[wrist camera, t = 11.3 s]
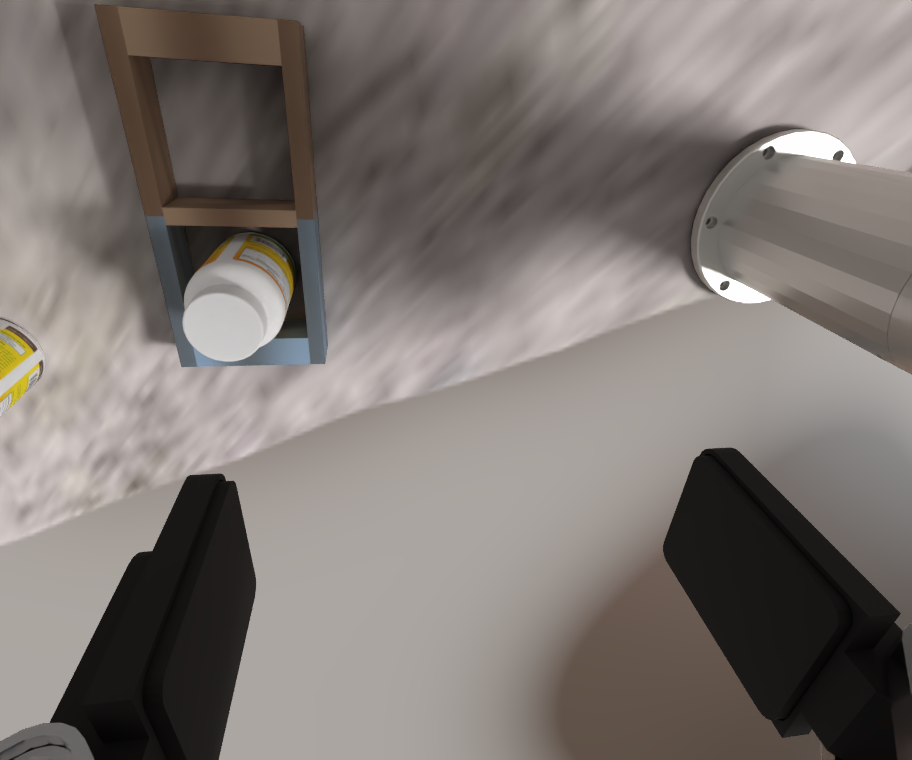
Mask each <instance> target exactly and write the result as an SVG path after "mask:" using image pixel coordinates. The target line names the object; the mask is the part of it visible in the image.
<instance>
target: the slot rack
mask: <svg viewBox="0 0 912 760" xmlns="http://www.w3.org/2000/svg"><path fill="white" fill-rule="evenodd" d="M94 5H95V9H96V13H97V17H98V22H99V26H100V30H101V34H102V38H103V42H104V46H105V51H106V55H107V59H108V63H109V67H110V71H111V76H112V80H113V84H114V88H115V92H116V96H117V101H118V105H119V109H120V113H121V117H122V121H123V126H124V130H125V134H126V138H127V142H128V146H129V151H130V155H131V159H132V163H133V167H134V171H135V175H136V180H137V184H138V188H139V192H140V196H141V200H142V205H143V209H144V213H145V217H146V221H147V225H148V230H149V234H150V238H151V242H152V246H153V250H154V255H155V259H156V263H157V267H158V271H159V275H160V280H161V284H162V288H163V292H164V296H165V300H166V304H167V309H168V313H169V317H170V321H171V325H172V329H173V334H174V338H175V342H176V346H177V350H178V354H179V359H180V363H181V367H202V366H246V365H290V364H325V361H326V354H327V346H328V342H327V329H326V316H325V303H324V289H323V276H322V263H321V250H320V237H319V223H318V210H317V197H316V184H315V171H314V157H313V144H312V131H311V118H310V105H309V91H308V78H307V65H306V52H305V39H304V26H303V25H301V24H300V23H299V22H298V21H291V20H279V19H267V18H255V17H242V16H230V15H218V14H206V13H194V12H182V11H170V10H158V9H146V8H134V7H122V6H110V5H98V4H94ZM149 57H150V58H165V59H180V60H194V61H209V62H223V63H238V64H252V65H267V66H281V67H282V74H283V85H284V95H285V105H286V116H287V126H288V136H289V147H290V157H291V168H292V178H293V188H294V199H295V201H292V200H256V199H220V198H184V197H178V194H177V189H176V184H175V179H174V175H173V170H172V165H171V160H170V155H169V150H168V145H167V140H166V136H165V131H164V126H163V121H162V116H161V111H160V106H159V102H158V97H157V92H156V87H155V82H154V77H153V72H152V67H151V63H150V58H149ZM184 226H232V227H283V228H297V230H298V240H299V250H300V261H301V271H302V281H303V292H304V302H305V313H306V321H284V322H283V324H282V327H281V329H280V331H279V332H278V334H277V335H276V336H275V337H274V338H273V339H272V340H271V341H270V342H269V343H267V344H265V345H264V346H262V347H259V348H258V349H257V350H256V352H254V353H253V354H252V355H251V356H249V357H247V358H245V359H242V360H239V361H233V362H225V361H218V360H214V359H211V358H209V357H207V356H205V355H203V354H201V353H200V352H199V351H197V350H196V349H195V348H194V347H193V346H192V345H191V344H190V343H189V341H188V339H187V338H186V336H185V333H184V330H183V324H182V321H183V314H184V311H185V308H184V294H185V290H186V287H187V285H188V283H189V281H190V280H191V278H192V277H193V275H194V272H193V267H192V262H191V257H190V253H189V248H188V243H187V238H186V233H185V228H184Z"/></svg>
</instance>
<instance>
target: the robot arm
mask: <svg viewBox="0 0 912 760" xmlns="http://www.w3.org/2000/svg"><path fill="white" fill-rule="evenodd" d="M691 255H692V259H693V264H694V268H695V270H696V272H697V274H698V276H699V278H700V279H701V281H702V282H703V283H704V284H705V285H706V286H707V287H708V288H709V289H710V290H712V291H713V292H715V293H716V294H718V295H719V296H721V297H724V298H725V299H728V300H730V301H734V302H738V303H759V302H764V301H769V300H773V301H775V302H777V303H779V304H781V305H783V306H784V307H787V308H788V309H790V310H792V311H794V312H796V313H798V314H799V315H801V316H803V317H805V318H807V319H809V320H811V321H812V322H814V323H816V324H818V325H820V326H822V327H823V328H825V329H827V330H830V331H831V332H833V333H835V334H837V335H838V336H840V337H842V338H844V339H846V340H848V341H850V342H851V343H853V344H855V345H857V346H859V347H861V348H863V349H864V350H866V351H868V352H870V353H872V354H874V355H876V356H877V357H879V358H881V359H883V360H885V361H887V362H889V363H891V364H893V365H894V366H896V367H898V368H900V369H902V370H904V371H906V372H908V373H910V374H912V173H909V172H903V171H897V170H891V169H885V168H879V167H873V166H867V165H861V164H856V161H855V159H854V157H853V156H852V154H851V152H850V150H849V148H848V147H847V146H845V145H844V144H843V143H842V142H841V141H840V140H839V139H838V138H836V137H834V136H832V135H830V134H828V133H825V132H820V131H815V130H803V129H793V130H787V131H781V132H778V133H775V134H772V135H770V136H767V137H764V138H762V139H760V140H759V141H757V142H755V143H754V144H752V145H750V146H749V147H747V148H746V149H744V150H743V151H742V152H741V153H739V154H738V155H737V156H736V157H735V158H733V159H732V160H731V161H730V162H729V163H728V164H727V165H726V167H725V168H724V169H723V170H722V171H721V172H720V173H719V174H718V175H717V177H716V178H715V180H714V181H713V183H712V184H711V186H710V187H709V189H708V190H707V192H706V194H705V196H704V198H703V200H702V202H701V204H700V206H699V208H698V211H697V214H696V217H695V220H694V223H693V230H692V236H691ZM663 552H664V556H665V559H666V561H667V563H668V565H669V566H670V568H671V569H672V571H673V573H674V574H675V576H676V577H677V579H678V581H679V582H680V584H681V585H682V587H683V588H684V590H685V592H686V594H687V595H688V597H689V599H690V600H691V602H692V603H693V605H694V607H695V608H696V610H697V611H698V613H699V615H700V616H701V618H702V619H703V621H704V623H705V624H706V626H707V628H708V629H709V631H710V632H711V634H712V636H713V637H714V639H715V641H716V642H717V644H718V645H719V647H720V649H721V650H722V652H723V654H724V655H725V657H726V658H727V660H728V662H729V663H730V665H731V666H732V668H733V670H734V671H735V673H736V675H737V676H738V678H739V679H740V681H741V683H742V684H743V685H744V688H745V689H746V691H747V692H748V694H749V696H750V697H751V699H752V700H753V702H754V704H755V705H756V707H757V708H758V710H759V711H760V712H761V714H762V715H763V716H765V718H767V719H769V720H771V721H772V722H773V724H774V726H775V727H776V729H777V730H778V732H779V734H780V735H781V737H782V738H785V737H791V736H798V735H805V734H809V732H810V731H811V730H812V729H813V731H814V732H815V734H816V735H817V737H818V738H819V740H820V741H821V760H912V624H909V625H908V626H907V627H906V628H905V629H904V630H903V631H902V630H901V629H900V628H899V627H898V626H897V625H896V624H895V623H894V622H895V621H896V619H897V618H898V617H899V615H900V612H899V611H898V610H896V609H895V607H894V606H893V605H892V604H891V603H890V602H889V601H888V600H887V599H886V598H884V596H883V595H882V594H881V593H879V591H878V590H876V588H875V587H874V586H873V585H872V584H871V583H870V582H869V581H868V580H867V579H866V578H865V577H864V576H863V575H862V574H861V573H860V572H859V571H858V570H857V569H856V568H855V567H854V566H853V565H852V564H851V563H850V562H849V561H848V560H847V559H846V558H845V557H844V556H843V555H842V554H841V553H840V552H839V551H838V550H837V549H836V548H835V547H834V546H833V545H832V544H831V543H830V542H829V541H828V540H827V539H826V538H825V537H824V536H823V535H822V534H821V533H820V532H819V531H818V530H817V529H816V528H815V527H814V526H813V525H812V524H811V523H810V522H809V521H808V520H807V519H806V518H805V517H804V516H803V515H802V514H801V513H800V512H799V511H798V510H797V509H796V508H795V507H794V506H793V505H792V504H791V503H790V502H789V501H788V500H787V499H786V498H785V497H784V496H783V495H782V494H781V493H780V492H779V491H778V490H777V489H776V488H775V487H774V486H773V485H772V484H771V483H770V482H769V481H768V480H767V479H766V478H765V477H764V476H763V475H762V474H761V473H760V472H759V471H758V470H757V469H756V468H755V467H754V466H753V465H752V464H751V463H750V462H749V461H748V460H747V459H746V458H745V457H744V456H743V455H742V454H741V453H740V452H739V451H738V450H736V449H734V448H714V449H705V450H704V451H702V452H701V454H700V456H698V457H696V458H695V460H694V462H693V464H692V467H691V470H690V472H689V475H688V478H687V481H686V483H685V486H684V489H683V492H682V494H681V497H680V500H679V503H678V505H677V508H676V511H675V514H674V516H673V519H672V522H671V524H670V527H669V530H668V533H667V535H666V538H665V541H664V545H663ZM255 590H256V577H255V572H254V567H253V563H252V558H251V553H250V549H249V543H248V539H247V534H246V529H245V525H244V520H243V515H242V510H241V505H240V501H239V496H238V491H237V487H236V483H235V482H234V481H226V480H225V477H224V475H223V474H203V475H190V476H188V477H187V478H186V480H185V482H184V484H183V486H182V488H181V490H180V492H179V495H178V497H177V499H176V501H175V503H174V505H173V508H172V510H171V512H170V514H169V516H168V519H167V521H166V523H165V525H164V527H163V529H162V532H161V534H160V536H159V538H158V540H157V543H156V544H155V547H154V549H153V551H150V552H140V553H138V554H136V555H135V556H134V557H133V559H132V560H131V562H130V563H129V565H128V567H127V569H126V571H125V573H124V575H123V577H122V579H121V581H120V583H119V585H118V587H117V589H116V591H115V593H114V595H113V597H112V599H111V601H110V603H109V605H108V607H107V609H106V611H105V613H104V615H103V617H102V619H101V621H100V623H99V625H98V627H97V629H96V631H95V633H94V635H93V637H92V639H91V641H90V643H89V645H88V647H87V649H86V651H85V653H84V655H83V657H82V659H81V661H80V663H79V665H78V667H77V669H76V671H75V673H74V675H73V677H72V679H71V681H70V683H69V685H68V687H67V689H66V691H65V693H64V695H63V697H62V699H61V701H60V703H59V705H58V707H57V709H56V711H55V713H54V715H53V717H52V719H51V721H50V723H43V724H39V725H36V726H33V727H29V728H26V729H23V730H21V731H19V732H17V733H15V734H13V735H11V736H10V737H8V738H6V739H4V740H2V741H0V760H219V755H220V751H221V746H222V742H223V737H224V733H225V728H226V723H227V719H228V715H229V710H230V706H231V701H232V697H233V692H234V688H235V683H236V679H237V674H238V670H239V665H240V661H241V656H242V651H243V648H244V643H245V639H246V634H247V630H248V625H249V621H250V616H251V612H252V607H253V603H254V598H255Z"/></svg>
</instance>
